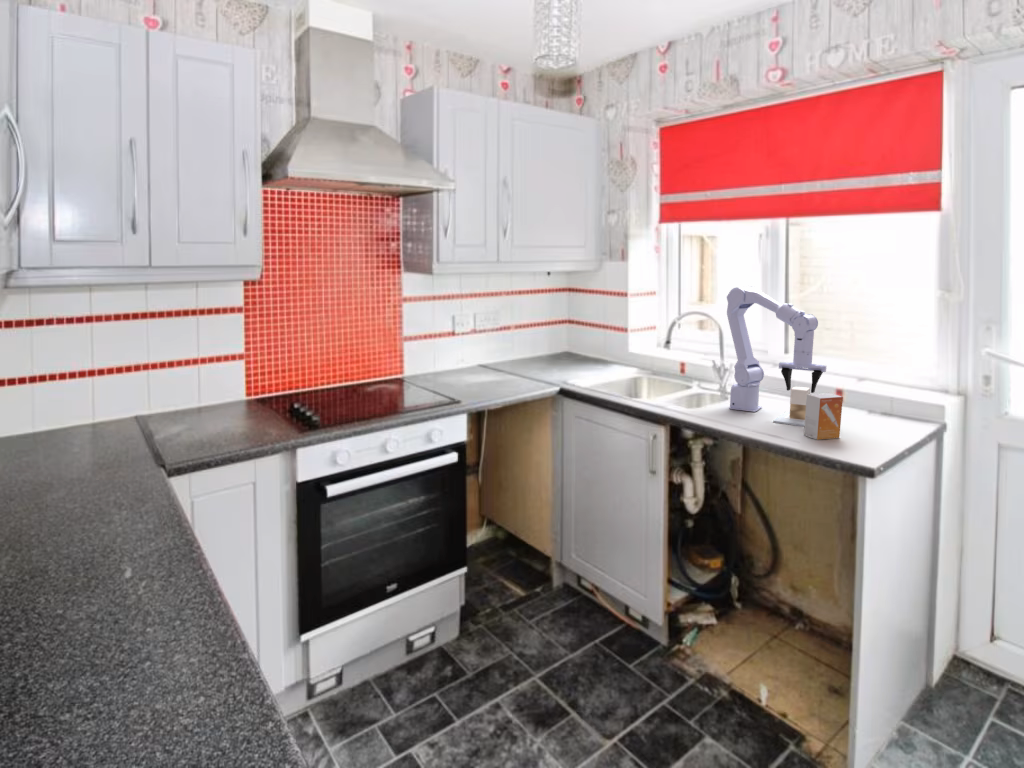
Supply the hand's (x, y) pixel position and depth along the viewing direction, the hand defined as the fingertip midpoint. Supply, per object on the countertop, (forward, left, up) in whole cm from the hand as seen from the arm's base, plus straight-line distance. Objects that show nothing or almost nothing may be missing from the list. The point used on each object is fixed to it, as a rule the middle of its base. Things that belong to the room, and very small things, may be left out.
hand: (800, 391), depth 220 cm
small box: (+11, -19, -10) cm, 24 cm away
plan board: (0, -2, -10) cm, 10 cm away
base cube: (0, 0, -9) cm, 9 cm away
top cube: (0, 0, -4) cm, 4 cm away
